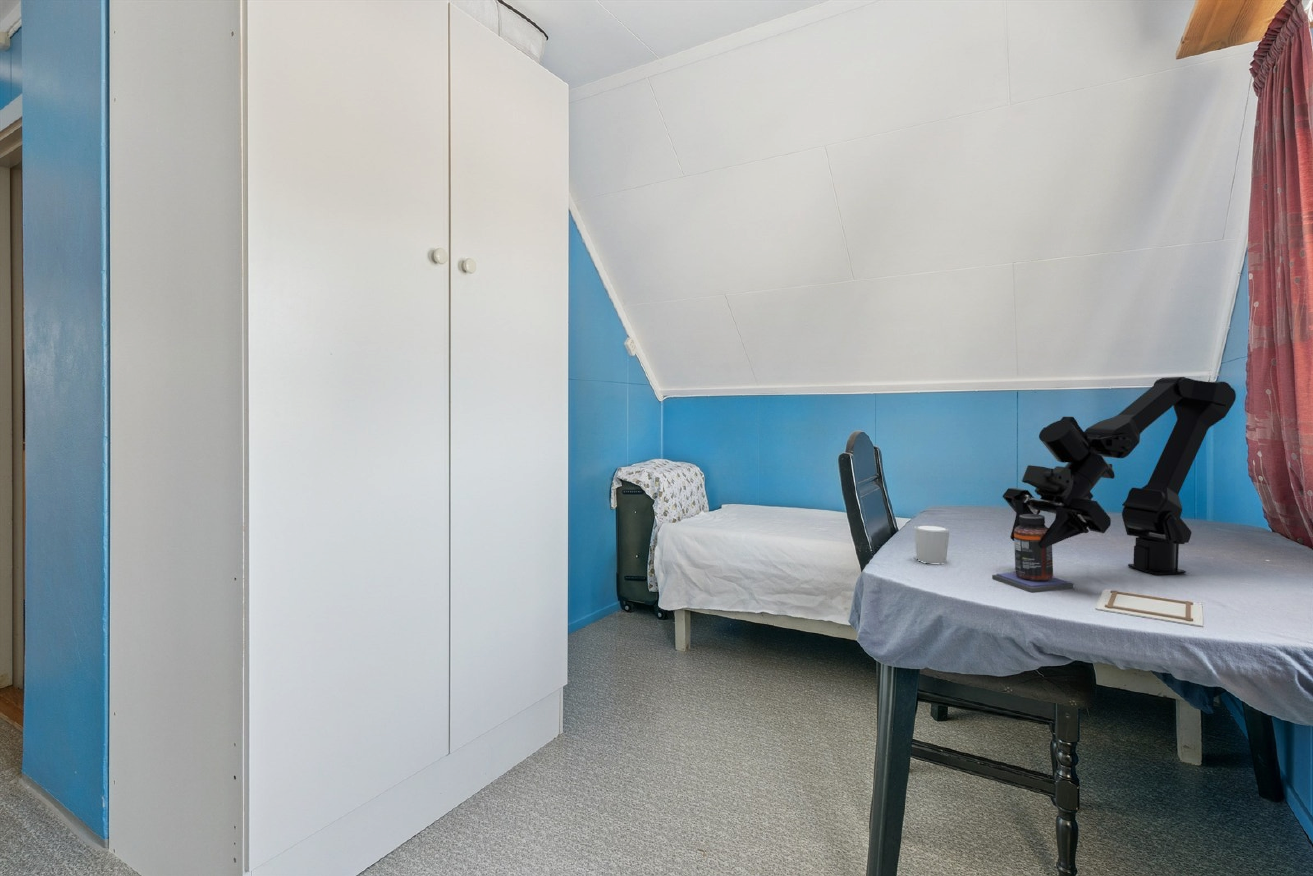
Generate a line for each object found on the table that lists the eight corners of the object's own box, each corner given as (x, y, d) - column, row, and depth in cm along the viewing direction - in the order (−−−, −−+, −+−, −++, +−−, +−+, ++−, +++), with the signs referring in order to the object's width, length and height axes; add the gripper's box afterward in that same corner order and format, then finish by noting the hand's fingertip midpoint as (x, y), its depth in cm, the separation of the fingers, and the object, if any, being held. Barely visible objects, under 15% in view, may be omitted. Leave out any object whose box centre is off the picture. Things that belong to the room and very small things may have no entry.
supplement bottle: (1050, 573, 117) (1049, 513, 116) (1055, 582, 112) (1054, 519, 111) (1013, 571, 119) (1012, 512, 119) (1016, 580, 114) (1015, 518, 113)
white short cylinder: (907, 557, 136) (907, 525, 135) (938, 556, 136) (938, 524, 136) (923, 565, 129) (924, 531, 128) (956, 564, 129) (956, 530, 129)
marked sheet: (1103, 590, 111) (1103, 587, 111) (1201, 604, 103) (1202, 601, 103) (1095, 609, 101) (1095, 606, 101) (1203, 627, 93) (1203, 623, 93)
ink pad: (1031, 574, 121) (1031, 569, 121) (1073, 588, 112) (1073, 582, 112) (992, 578, 119) (992, 573, 119) (1031, 592, 110) (1031, 586, 110)
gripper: (1011, 446, 124) (962, 505, 122) (1099, 453, 106) (1044, 522, 104) (1043, 485, 127) (996, 543, 125) (1134, 498, 109) (1081, 566, 107)
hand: (1025, 543), depth 115 cm, fingers closed on supplement bottle, 6 cm apart
